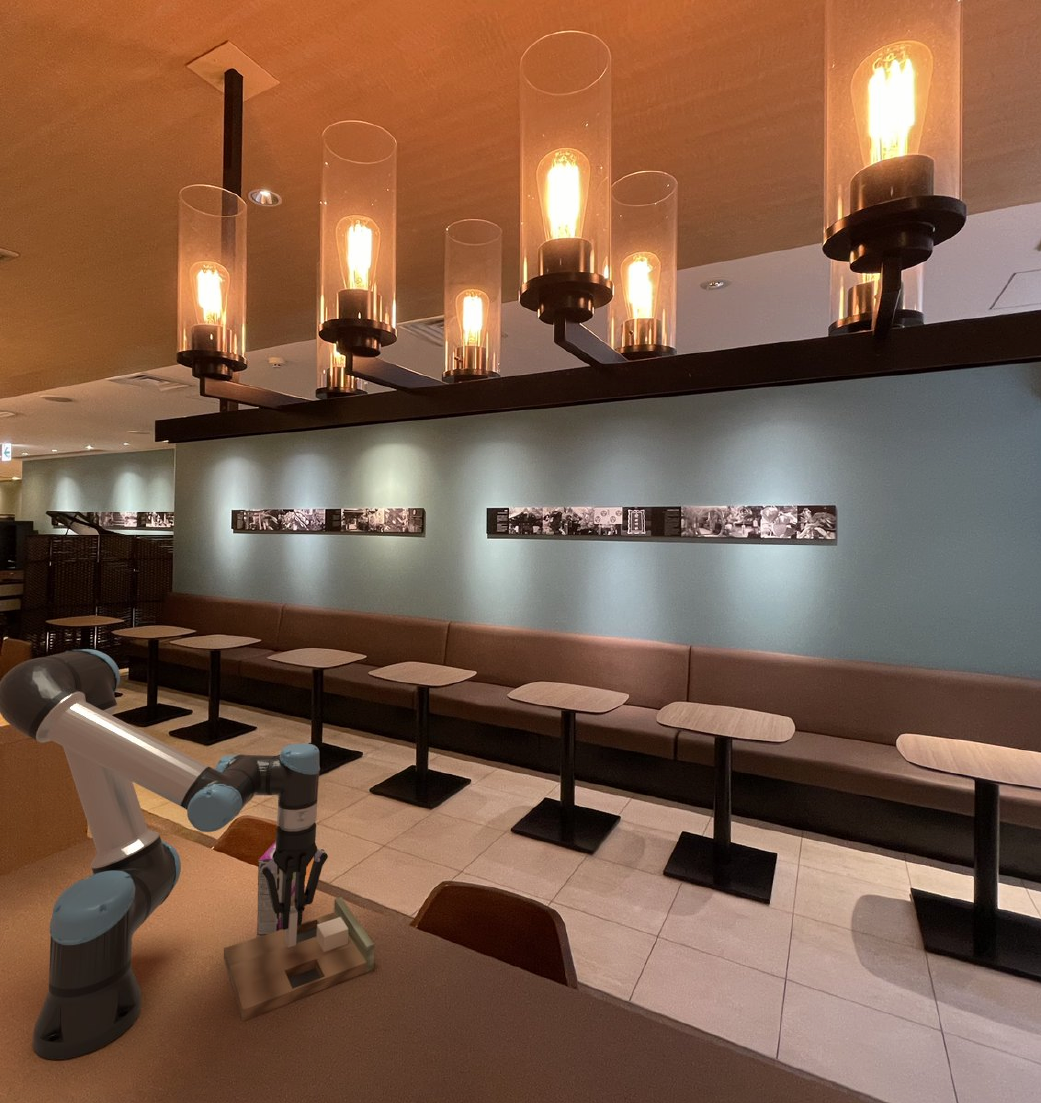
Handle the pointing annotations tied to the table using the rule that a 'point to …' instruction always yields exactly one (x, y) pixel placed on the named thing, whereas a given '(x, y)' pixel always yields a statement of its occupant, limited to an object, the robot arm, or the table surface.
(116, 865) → the robot arm
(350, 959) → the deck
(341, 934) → the block
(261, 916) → the candy bar box
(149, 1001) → the table surface
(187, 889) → the table surface
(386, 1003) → the table surface
